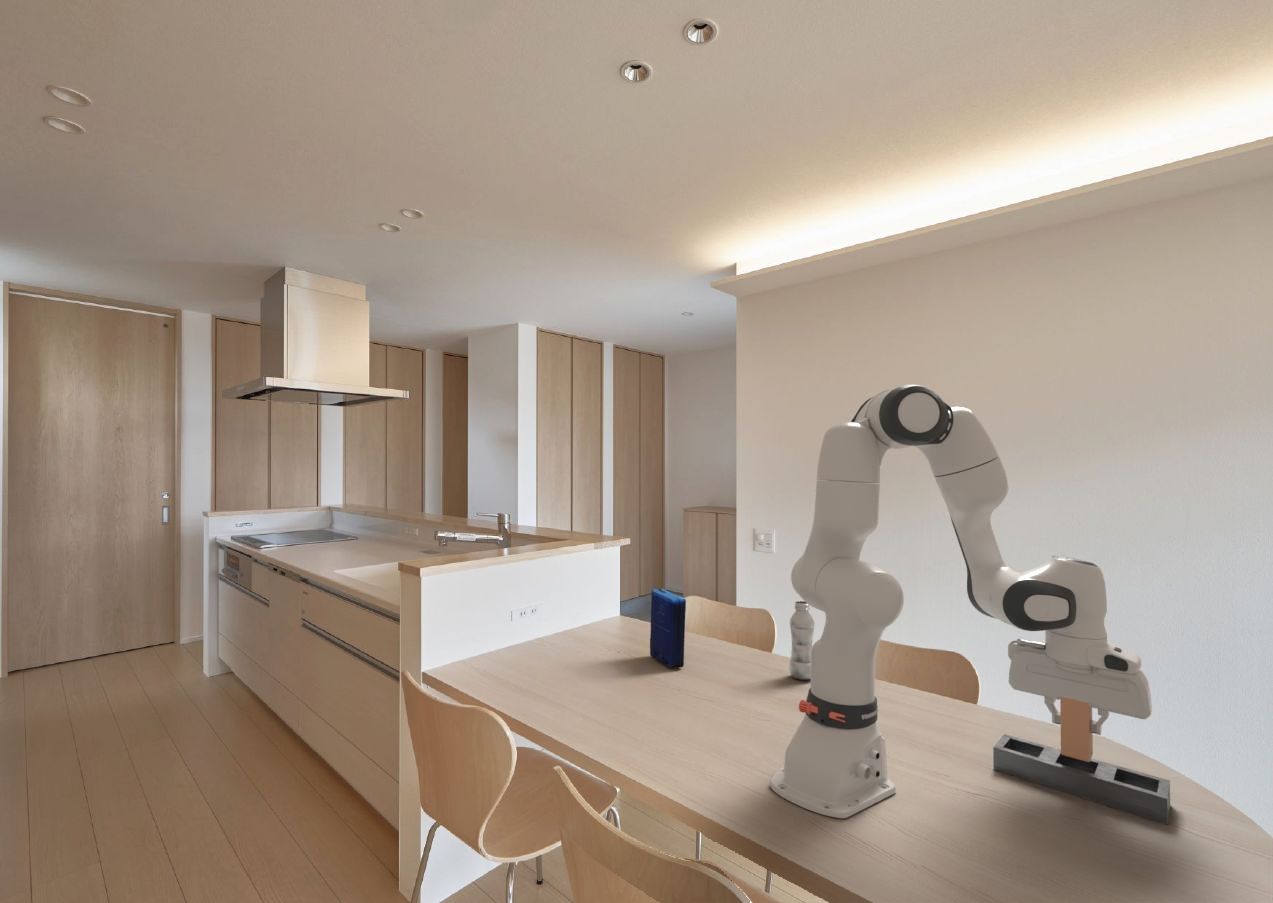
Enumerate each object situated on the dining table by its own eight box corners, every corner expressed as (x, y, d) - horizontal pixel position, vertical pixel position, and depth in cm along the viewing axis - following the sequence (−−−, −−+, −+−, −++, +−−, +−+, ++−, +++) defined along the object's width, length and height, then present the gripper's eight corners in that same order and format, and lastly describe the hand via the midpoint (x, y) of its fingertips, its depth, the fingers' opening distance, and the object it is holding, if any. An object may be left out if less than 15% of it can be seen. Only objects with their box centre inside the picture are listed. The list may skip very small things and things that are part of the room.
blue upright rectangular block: (646, 656, 173) (647, 588, 173) (662, 654, 175) (663, 586, 176) (669, 672, 160) (670, 597, 160) (686, 669, 162) (687, 596, 163)
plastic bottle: (809, 674, 160) (809, 599, 160) (818, 682, 153) (818, 605, 154) (786, 673, 160) (786, 599, 160) (793, 682, 153) (793, 605, 154)
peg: (1089, 762, 101) (1088, 703, 101) (1061, 754, 104) (1060, 696, 104) (1092, 754, 104) (1091, 697, 104) (1065, 746, 107) (1064, 691, 107)
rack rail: (1167, 824, 92) (1167, 798, 92) (993, 769, 109) (993, 747, 109) (1170, 804, 98) (1169, 780, 98) (1004, 754, 115) (1004, 734, 115)
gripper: (1003, 640, 109) (1004, 715, 109) (1149, 666, 95) (1150, 753, 95) (1012, 633, 114) (1012, 706, 113) (1152, 658, 100) (1153, 741, 99)
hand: (1076, 728), depth 104 cm, fingers closed on peg, 4 cm apart
